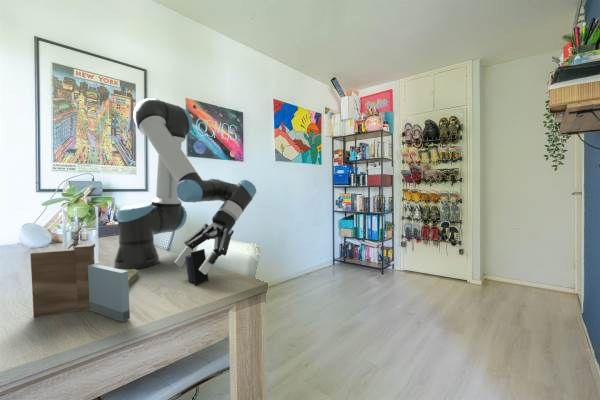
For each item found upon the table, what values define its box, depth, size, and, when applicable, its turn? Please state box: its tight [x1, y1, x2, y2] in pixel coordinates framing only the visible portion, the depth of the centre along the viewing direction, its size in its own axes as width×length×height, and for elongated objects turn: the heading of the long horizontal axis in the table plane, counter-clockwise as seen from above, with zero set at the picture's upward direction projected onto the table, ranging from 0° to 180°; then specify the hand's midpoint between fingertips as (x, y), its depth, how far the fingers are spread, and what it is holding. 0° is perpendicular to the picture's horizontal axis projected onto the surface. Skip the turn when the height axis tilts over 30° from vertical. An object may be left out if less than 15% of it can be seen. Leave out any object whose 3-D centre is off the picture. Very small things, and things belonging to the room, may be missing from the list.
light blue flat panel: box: [88, 263, 131, 323], centre depth 65 cm, size 13×2×11 cm, turn 63°
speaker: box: [185, 248, 209, 287], centre depth 89 cm, size 8×6×10 cm
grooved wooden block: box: [30, 243, 96, 318], centre depth 68 cm, size 3×12×16 cm, turn 113°
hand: (189, 268), depth 87 cm, fingers open, 13 cm apart
